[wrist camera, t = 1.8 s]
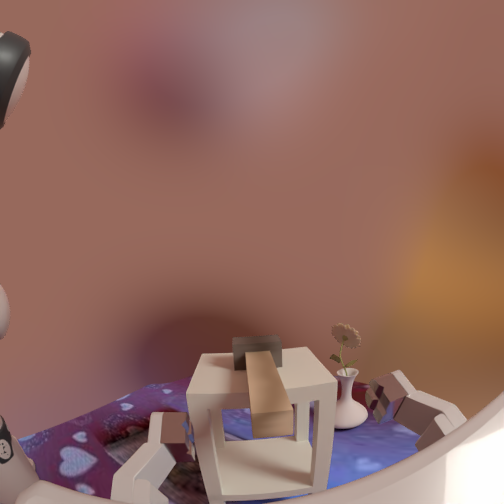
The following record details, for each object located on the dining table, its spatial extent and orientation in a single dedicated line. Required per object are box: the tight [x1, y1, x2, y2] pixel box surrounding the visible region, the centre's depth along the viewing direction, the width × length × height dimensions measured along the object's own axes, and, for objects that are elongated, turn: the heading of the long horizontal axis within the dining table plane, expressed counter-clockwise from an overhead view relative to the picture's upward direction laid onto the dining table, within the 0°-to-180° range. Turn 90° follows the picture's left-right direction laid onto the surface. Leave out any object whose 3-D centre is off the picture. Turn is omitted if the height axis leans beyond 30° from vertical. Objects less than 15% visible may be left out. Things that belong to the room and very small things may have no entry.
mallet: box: [232, 335, 293, 438], centre depth 26 cm, size 6×18×4 cm, turn 3°
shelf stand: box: [186, 347, 338, 504], centre depth 31 cm, size 16×14×26 cm
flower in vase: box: [330, 323, 368, 429], centre depth 54 cm, size 13×11×25 cm
